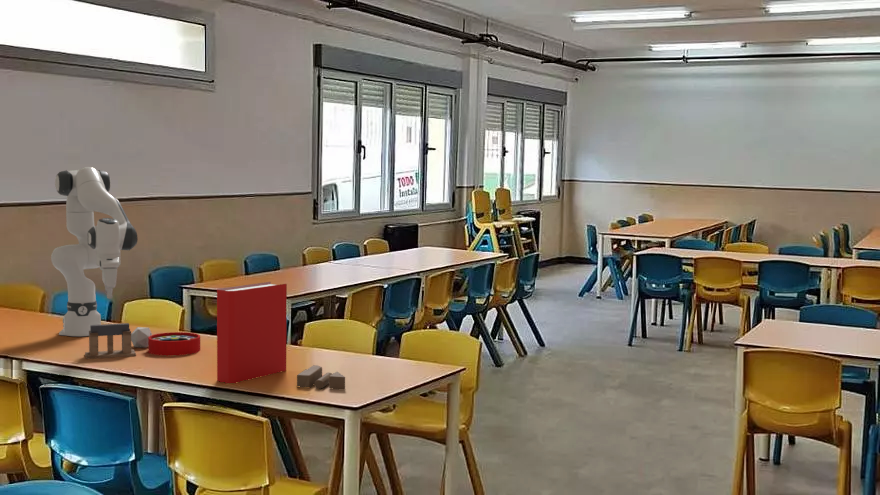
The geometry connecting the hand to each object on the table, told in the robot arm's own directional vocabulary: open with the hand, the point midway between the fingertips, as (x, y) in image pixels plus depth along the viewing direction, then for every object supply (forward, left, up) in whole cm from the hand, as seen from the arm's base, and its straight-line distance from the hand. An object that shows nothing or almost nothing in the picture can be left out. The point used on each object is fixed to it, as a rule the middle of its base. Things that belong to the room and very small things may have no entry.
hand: (108, 296), depth 362 cm
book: (+52, +44, -23) cm, 72 cm away
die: (-13, +13, -23) cm, 30 cm away
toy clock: (-1, +25, -23) cm, 34 cm away
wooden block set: (+71, +67, -24) cm, 100 cm away
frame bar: (+1, 0, -15) cm, 15 cm away
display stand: (+1, 0, -23) cm, 23 cm away
